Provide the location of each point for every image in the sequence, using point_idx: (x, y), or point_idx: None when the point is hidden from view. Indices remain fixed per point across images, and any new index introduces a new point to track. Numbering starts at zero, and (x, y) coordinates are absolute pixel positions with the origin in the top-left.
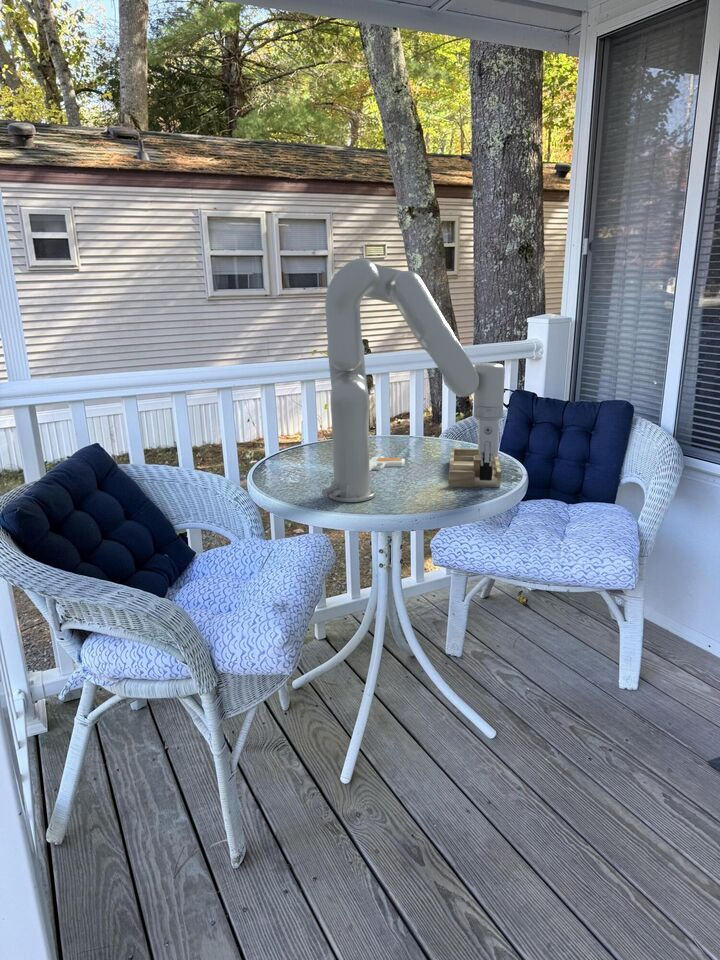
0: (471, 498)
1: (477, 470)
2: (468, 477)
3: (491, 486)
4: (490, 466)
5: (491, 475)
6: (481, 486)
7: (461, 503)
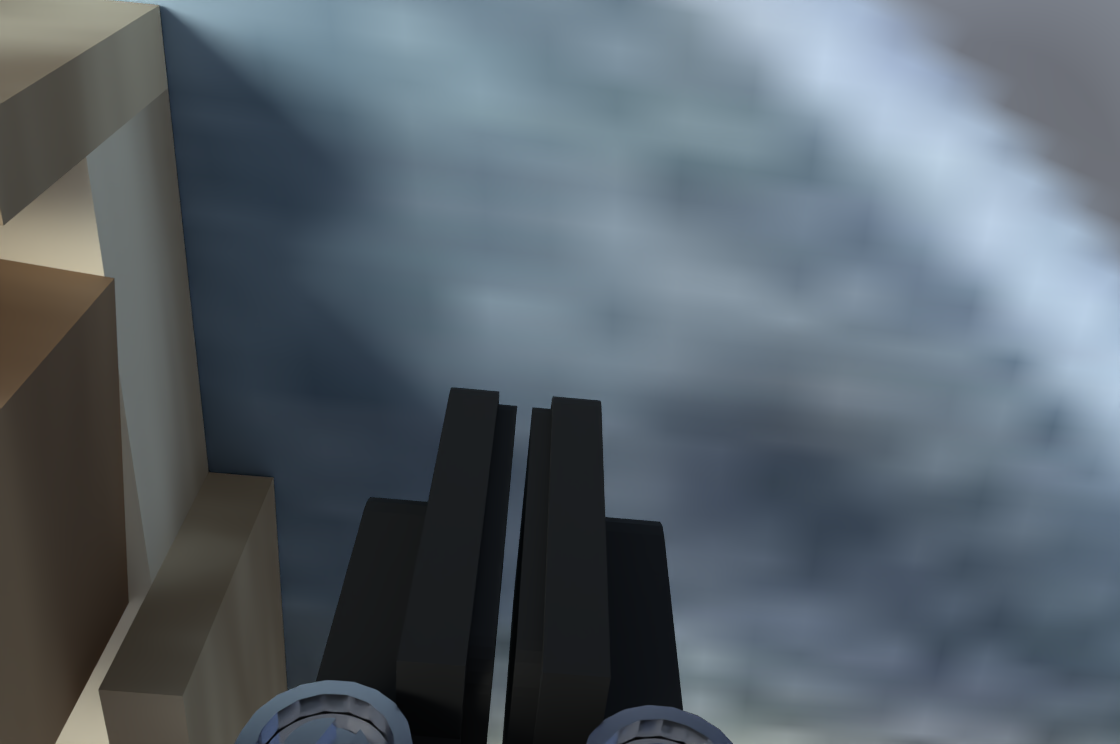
0: (865, 565)
1: (61, 659)
2: (229, 693)
3: (178, 193)
4: (693, 737)
5: (598, 472)
6: (196, 365)
7: (1066, 692)
